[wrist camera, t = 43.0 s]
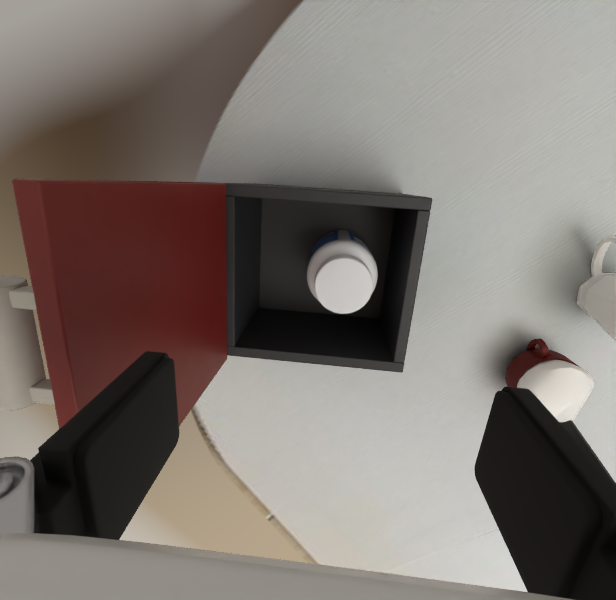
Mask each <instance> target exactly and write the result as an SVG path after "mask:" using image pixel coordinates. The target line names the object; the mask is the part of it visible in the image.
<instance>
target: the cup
mask: <svg viewBox="0 0 616 600" xmlns="http://www.w3.org/2000/svg"><path fill="white" fill-rule="evenodd" d="M611 242H615V243H616V235H615V236H611V237H608V238H606V239H603V240H602V241H601V242H600V243H599V244H598V245H597V248H596V250H595V252H594V255H593V258H592V262H591V274H592V277H591V278H589V279H588V280H587V281H586V282H584V283H583V284H582V285H580V287H579V292H578V297H577V302H576V303H577V304H578V305H579V307H580V308H581V309H582V310H583V311H584V312H585V313H586V314H587V315H589V316H592V317H593V318H594V320H595V321H596V322H597V323H598V324H599V325H600V326H601V327H602V328H603V329H604V330H605V331H606V332H607V333H608V334H609V335H610V336H611V337H612V338H614V339H615V340H616V273H603V270H602V263H603V258H604V256H605V253H606V251H607V249H608V247H609V245H610V243H611Z"/></svg>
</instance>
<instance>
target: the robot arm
mask: <svg viewBox="0 0 616 600" xmlns="http://www.w3.org/2000/svg"><path fill="white" fill-rule="evenodd" d="M178 438H179V422H178V408H177V393H176V379H175V365H174V360H173V359H172V358H169V356H168V354H167V353H162V352H152V351H146V352H144V353H143V354H142V355H141V356H140V357H139V358H138V359H137V360H136V361H134V362H133V363H132V364H131V365H130V366H129V367H128V368H127V369H126V370H124V371H123V372H122V373H121V374H120V375H119V376H118V377H117V378H116V379H114V380H113V381H112V382H111V383H110V384H109V385H108V386H107V387H106V388H104V389H103V390H102V391H101V392H100V393H99V394H98V395H97V396H96V397H95V398H93V399H92V400H91V401H90V402H89V403H88V404H87V405H86V406H85V407H83V408H82V409H81V410H80V411H79V412H78V413H77V414H76V415H75V416H73V417H72V418H71V419H70V420H69V421H68V422H67V423H66V424H65V425H64V426H62V427H61V428H60V429H59V430H58V431H57V432H56V433H55V434H54V435H52V436H51V437H50V438H49V439H48V440H47V441H46V442H45V443H44V444H42V446H40V447H39V453H38V454H37V455H36V456H35V457H34V458H32V459H31V460H30V461H29V460H28V459H26V458H21V457H5V458H1V459H0V600H616V484H615V483H614V482H613V481H612V480H611V479H610V478H609V477H608V476H607V474H606V473H605V472H604V471H603V470H602V469H601V468H600V467H599V466H598V464H597V463H596V462H595V461H594V460H593V459H592V458H591V457H590V456H589V455H588V453H587V452H586V451H585V450H584V449H583V448H582V447H581V446H580V445H579V443H578V442H577V441H576V440H575V439H574V438H573V437H572V436H571V435H570V434H569V432H568V431H567V430H566V429H565V428H564V427H563V426H562V425H561V424H560V422H559V421H558V420H557V419H556V418H555V417H554V416H553V415H552V414H551V413H550V411H549V410H548V409H547V408H546V407H545V406H544V405H543V404H542V403H541V401H540V400H539V399H538V398H537V397H536V396H535V395H534V394H533V393H532V392H531V391H530V390H529V389H526V388H516V387H504V388H503V389H502V391H498V392H497V393H496V394H495V397H494V401H493V404H492V408H491V411H490V415H489V418H488V422H487V425H486V429H485V432H484V436H483V439H482V443H481V446H480V450H479V453H478V457H477V460H476V464H475V476H476V480H477V482H478V484H479V486H480V488H481V491H482V493H483V495H484V497H485V499H486V502H487V504H488V506H489V508H490V510H491V512H492V515H493V517H494V519H495V521H496V523H497V526H498V528H499V530H500V532H501V534H502V536H503V539H504V541H505V543H506V545H507V547H508V549H509V552H510V554H511V556H512V558H513V560H514V563H515V565H516V567H517V569H518V571H519V573H520V576H521V578H522V580H523V582H524V584H525V587H526V589H527V591H528V592H521V591H514V590H506V589H499V588H492V587H484V586H477V585H469V584H462V583H455V582H447V581H440V580H433V579H425V578H418V577H410V576H403V575H395V574H388V573H380V572H372V571H365V570H357V569H349V568H342V567H334V566H326V565H319V564H311V563H303V562H294V561H287V560H279V559H272V558H264V557H256V556H247V555H240V554H232V553H224V552H216V551H206V550H199V549H191V548H183V547H175V546H167V545H158V544H150V543H141V542H131V541H123V540H119V539H120V537H121V535H122V534H123V532H124V531H125V529H126V527H127V525H128V524H129V522H130V521H131V519H132V517H133V516H134V514H135V512H136V511H137V509H138V507H139V506H140V504H141V502H142V501H143V499H144V497H145V496H146V494H147V493H148V491H149V489H150V488H151V486H152V484H153V483H154V481H155V479H156V478H157V476H158V474H159V473H160V471H161V469H162V468H163V466H164V464H165V463H166V461H167V459H168V458H169V456H170V454H171V453H172V451H173V449H174V448H175V446H176V444H177V442H178Z"/></svg>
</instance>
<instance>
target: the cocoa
mask: <svg viewBox="0 0 616 600" xmlns="http://www.w3.org/2000/svg"><path fill="white" fill-rule="evenodd" d="M536 344H538V345H539V347H540V348H537V349H535V346H536ZM505 379H506V382H507V385H508V387H516V388H526V389H529V390H530V391H531V392H532V393H533V394H534V395H535V396H536V397H537V398H538V399H539V400H540V401H541V403H542V404H543V405H544V406H545V407H546V408H547V409H548V410H549V411H550V413H551V414H552V415H553V416H554V417H555V418H556V419H557V420H558V421H559V422H560V424H561V425H562V426H563V427H564V428H565V429H566V430H567V431H568V432H569V434H570V435H571V436H572V437H573V438H574V439H575V440H576V441H577V442H578V443H579V445H580V446H581V447H582V448H583V449H584V450H585V451H586V452H587V453H588V455H589V456H590V457H591V458H592V459H593V460H594V461H595V462H596V463H597V464H598V466H599V467H600V468H601V469H602V470H603V471H604V472H605V473H606V474H607V476H608V477H609V478H610V479H611V480H612V481H613V482H614V483H615V481H614V480H613V479H612V477H611V476H610V474H609V473H608V471H607V470H606V469H605V467H604V466H603V464H602V463H601V461H600V460H599V459H598V457H597V456H596V454H595V453H594V452H593V450H592V449H591V447H590V446H589V444H588V443H587V442H586V440H585V439H584V437H583V436H582V434H581V433H580V432H579V430H578V429H577V427H576V426H575V424H574V423H573V422H572V421H573V420H574V418H575V417H576V416H577V415H578V413H579V412H580V410H581V408H582V406H583V405H584V403H585V401H586V400H587V398H588V396H589V395H590V393H591V391H592V389H593V387H594V386H595V385H594V380H593V379H592V377H591V375H590V374H589V372H588V371H586V370H584V369H582V368H580V367H579V366H578V365H576V364H575V363H574V362H572V361H571V360H569V359H568V358H567V357H565V356H564V355H562V354H560V353H557V352H555V351H552V350H548V347H547V345H546V343H545V342H544V341H543V340H542V339H534V340H532V341H531V342H530V343H529V344H528V346H527V349H526V351H523V352H522V353H520V354H519V355H517V356H516V357H514V358H513V360H512V361H511V362H510V364H509V365H508V367H507V372H506V378H505ZM615 484H616V483H615Z"/></svg>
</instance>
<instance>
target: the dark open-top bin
mask: <svg viewBox="0 0 616 600" xmlns="http://www.w3.org/2000/svg"><path fill="white" fill-rule="evenodd" d="M225 184H226V259H227V355H231V356H241V357H251V358H261V359H271V360H281V361H292V362H302V363H312V364H322V365H332V366H342V367H352V368H363V369H373V370H383V371H393V372H403V366H404V360H405V355H406V349H407V343H408V337H409V331H410V326H411V320H412V314H413V308H414V302H415V297H416V291H417V285H418V279H419V273H420V267H421V262H422V256H423V250H424V244H425V238H426V233H427V227H428V221H429V215H430V209H431V203H432V198H428V197H421V196H414V195H407V194H396V193H382V192H368V191H353V190H339V189H325V188H311V187H297V186H283V185H269V184H247V183H225ZM335 230H347V231H350V232H353V233H355V234H356V235H358V236H359V237H360V238H362V240H363V241H364V242H365V244H366V245H367V247H368V249H369V250H370V252H371V254H372V256H373V258H374V260H375V262H376V265H377V271H378V278H377V283H376V287H375V289H374V291H373V293H372V294H371V296H370V299H369V300H368V302H367V303H366V304H365V305H364V306H363V307H362V308H360V309H359V310H357V311H355V312H352V313H347V314H339V313H334V312H332V311H330V310H328V309H326V308H325V307H324V306H323V305H322V304H321V303H320V302H319V301H318V300H317V299H316V298H315V297H314V296H313V294H312V293H311V291H310V289H309V286H308V283H307V268H308V264H309V260H310V257H311V253H312V250H313V247H314V245H315V244H316V242H317V241H318V240H319V239H320V238H321V237H322V236H323V235H325V234H326V233H328V232H331V231H335Z"/></svg>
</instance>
